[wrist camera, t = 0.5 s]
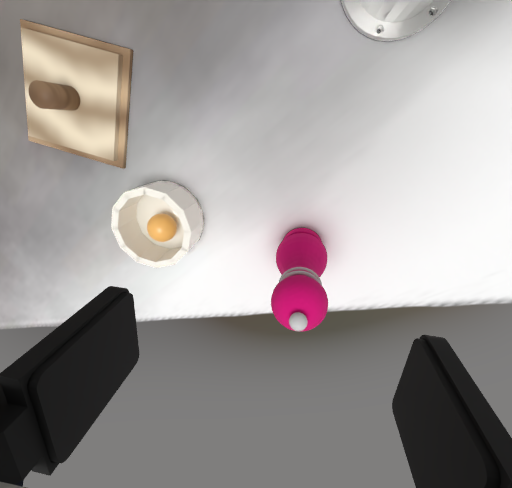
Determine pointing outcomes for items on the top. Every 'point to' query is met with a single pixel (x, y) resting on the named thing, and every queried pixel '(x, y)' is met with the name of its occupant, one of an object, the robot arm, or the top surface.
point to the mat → (125, 89)
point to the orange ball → (161, 227)
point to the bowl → (147, 205)
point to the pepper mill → (300, 281)
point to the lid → (72, 94)
